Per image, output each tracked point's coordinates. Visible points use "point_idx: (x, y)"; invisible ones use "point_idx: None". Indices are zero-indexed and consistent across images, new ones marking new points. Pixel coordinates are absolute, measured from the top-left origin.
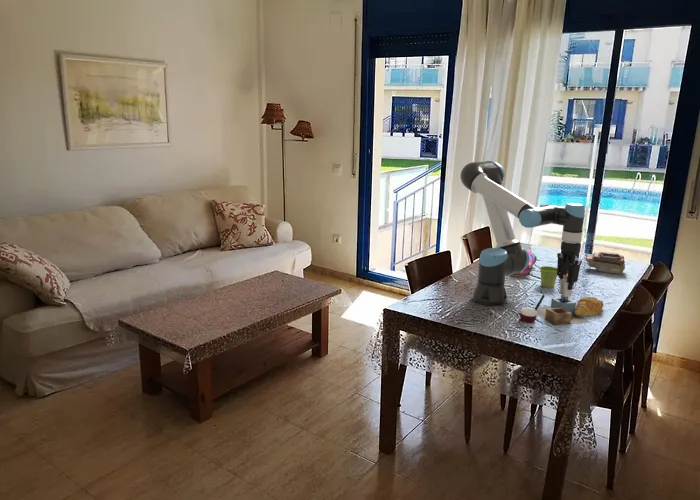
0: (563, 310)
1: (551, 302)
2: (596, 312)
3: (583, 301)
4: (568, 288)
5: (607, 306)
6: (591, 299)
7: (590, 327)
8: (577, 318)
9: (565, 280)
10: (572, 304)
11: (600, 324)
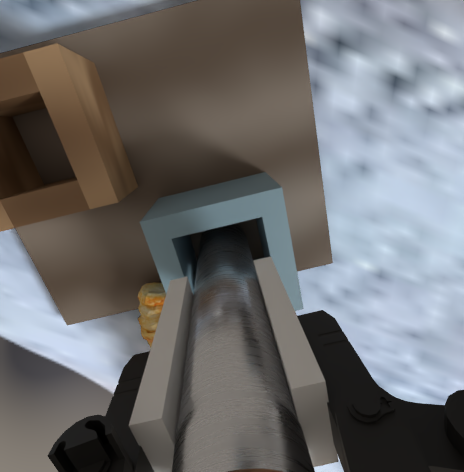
0: (38, 193)
1: (270, 181)
2: None
3: None
4: (143, 363)
5: None
6: None
7: (20, 300)
8: (113, 278)
9: (185, 432)
10: None
11: (77, 358)
